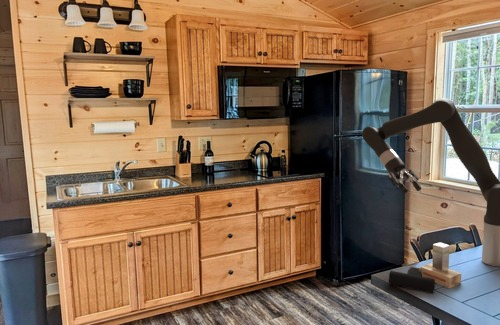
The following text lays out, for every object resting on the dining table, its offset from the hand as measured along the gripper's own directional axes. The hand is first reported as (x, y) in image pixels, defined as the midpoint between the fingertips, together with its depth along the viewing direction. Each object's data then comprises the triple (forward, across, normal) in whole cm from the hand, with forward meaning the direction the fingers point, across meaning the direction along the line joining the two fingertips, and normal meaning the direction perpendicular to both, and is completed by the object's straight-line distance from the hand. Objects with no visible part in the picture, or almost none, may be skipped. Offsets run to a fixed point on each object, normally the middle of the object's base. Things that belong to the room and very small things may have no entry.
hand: (413, 191), depth 161 cm
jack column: (+32, -8, +6) cm, 33 cm away
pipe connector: (+33, -19, +11) cm, 39 cm away
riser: (+35, -8, +8) cm, 37 cm away
